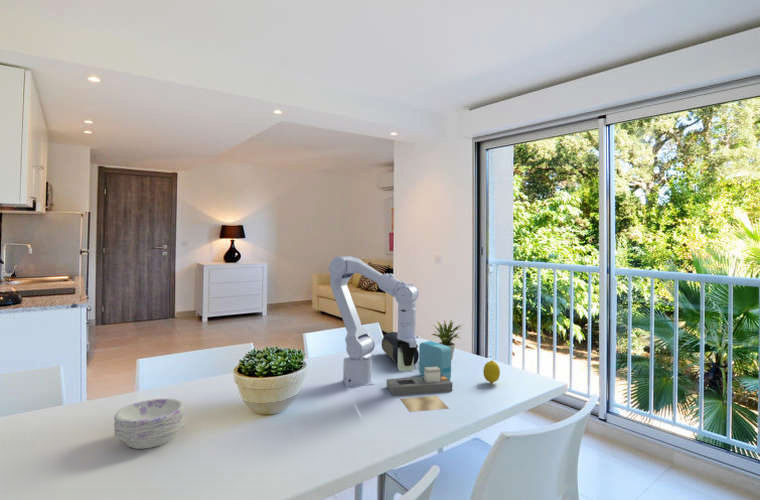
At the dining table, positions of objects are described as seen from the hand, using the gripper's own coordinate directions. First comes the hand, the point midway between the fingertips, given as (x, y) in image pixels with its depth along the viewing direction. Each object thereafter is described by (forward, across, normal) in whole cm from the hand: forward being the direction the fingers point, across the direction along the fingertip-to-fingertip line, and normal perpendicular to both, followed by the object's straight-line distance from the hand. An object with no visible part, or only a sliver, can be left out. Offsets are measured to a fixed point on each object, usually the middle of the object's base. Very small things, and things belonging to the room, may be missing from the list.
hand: (406, 364), depth 141 cm
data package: (+9, +11, -14) cm, 20 cm away
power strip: (+9, 0, -4) cm, 10 cm away
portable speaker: (+9, +34, -7) cm, 36 cm away
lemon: (+9, +1, -31) cm, 32 cm away
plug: (+2, 0, 0) cm, 2 cm away
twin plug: (+9, 0, -9) cm, 13 cm away
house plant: (+9, +31, -27) cm, 42 cm away
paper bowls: (+9, -19, +71) cm, 74 cm away
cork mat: (+9, -12, -2) cm, 15 cm away
